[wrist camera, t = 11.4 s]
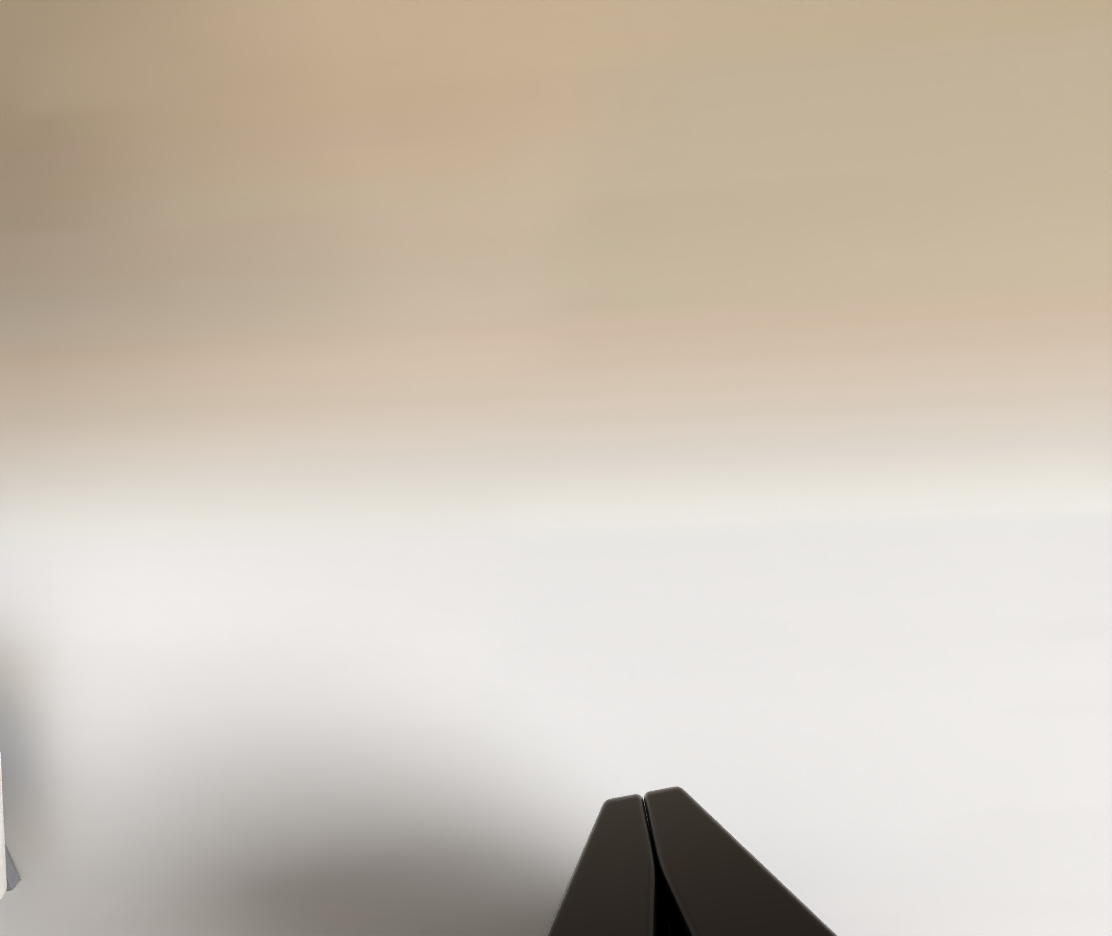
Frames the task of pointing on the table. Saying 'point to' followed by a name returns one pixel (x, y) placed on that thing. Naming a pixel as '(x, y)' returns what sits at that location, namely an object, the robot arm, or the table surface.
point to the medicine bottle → (2, 844)
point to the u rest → (10, 872)
